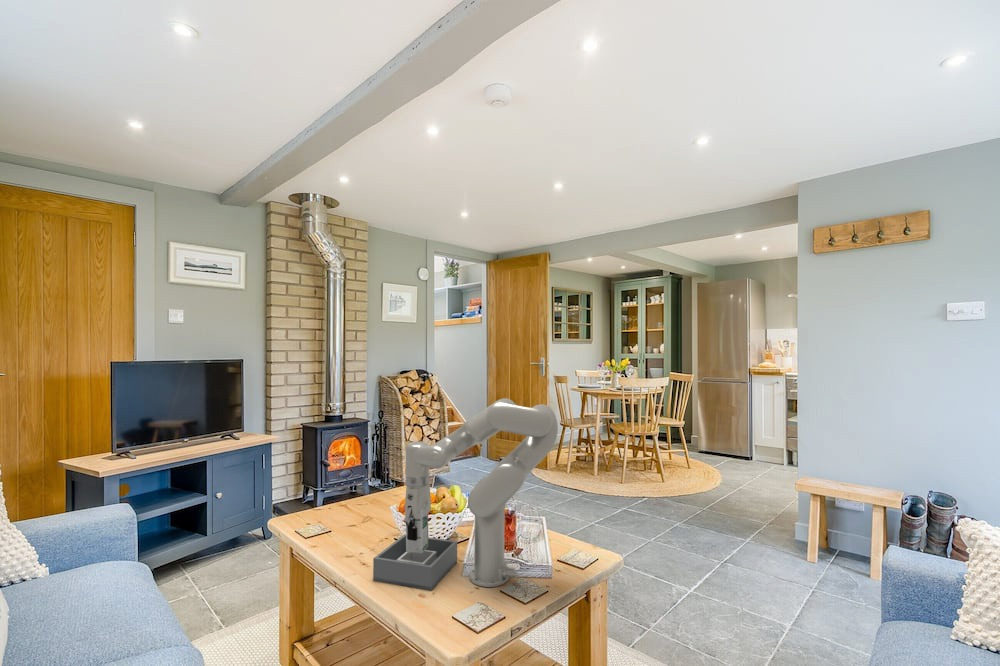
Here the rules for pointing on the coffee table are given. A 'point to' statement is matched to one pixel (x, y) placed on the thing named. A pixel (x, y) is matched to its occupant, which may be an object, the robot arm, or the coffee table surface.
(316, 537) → the coffee table surface
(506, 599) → the coffee table surface
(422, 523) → the syrup box
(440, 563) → the walled box
